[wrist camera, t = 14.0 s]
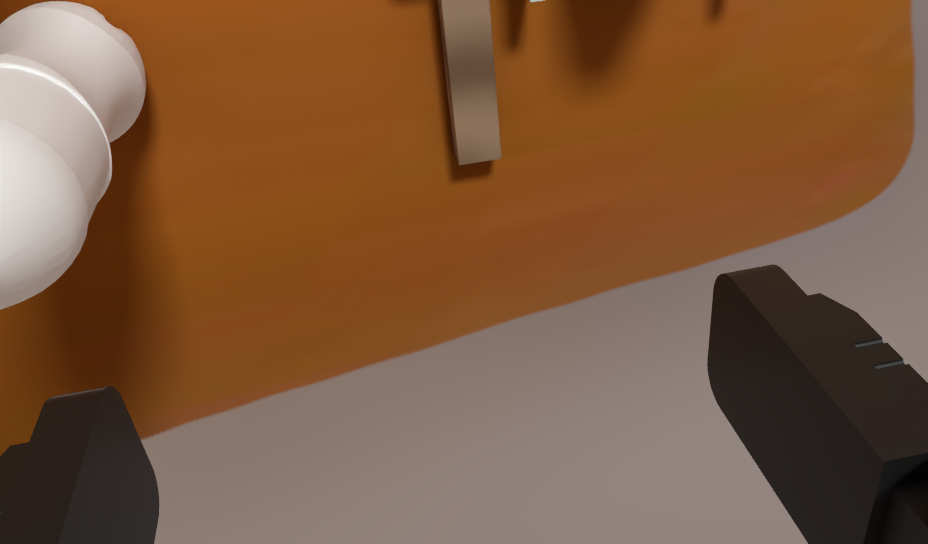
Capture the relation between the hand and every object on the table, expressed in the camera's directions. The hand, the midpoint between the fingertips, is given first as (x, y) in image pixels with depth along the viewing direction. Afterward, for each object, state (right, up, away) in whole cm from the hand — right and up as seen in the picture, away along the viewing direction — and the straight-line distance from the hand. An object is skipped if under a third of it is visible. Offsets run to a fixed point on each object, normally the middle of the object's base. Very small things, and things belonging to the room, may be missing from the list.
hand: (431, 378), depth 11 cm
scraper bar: (+1, +14, +35) cm, 38 cm away
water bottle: (-19, +12, +32) cm, 39 cm away
